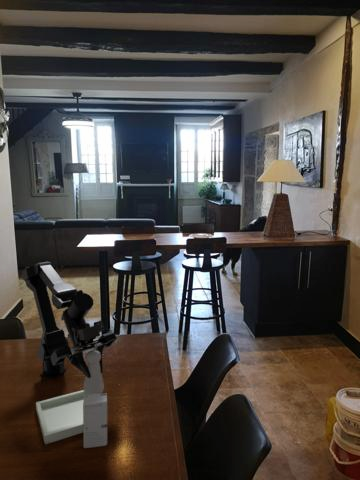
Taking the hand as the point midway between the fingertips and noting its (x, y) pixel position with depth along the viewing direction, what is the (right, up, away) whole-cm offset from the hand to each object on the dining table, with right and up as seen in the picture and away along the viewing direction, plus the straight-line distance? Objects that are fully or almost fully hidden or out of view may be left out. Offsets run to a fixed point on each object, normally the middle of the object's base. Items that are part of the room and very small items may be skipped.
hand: (95, 375), depth 103 cm
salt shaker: (-1, -7, +2) cm, 7 cm away
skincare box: (+2, -14, -9) cm, 17 cm away
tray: (-7, -12, +1) cm, 14 cm away
